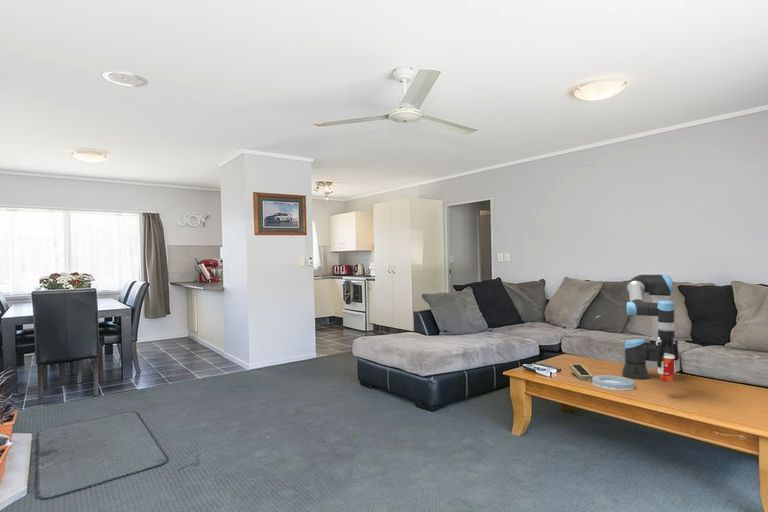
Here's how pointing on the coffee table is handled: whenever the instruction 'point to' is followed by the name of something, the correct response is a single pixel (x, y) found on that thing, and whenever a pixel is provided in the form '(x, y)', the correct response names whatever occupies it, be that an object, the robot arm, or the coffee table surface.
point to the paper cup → (668, 368)
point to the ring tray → (613, 382)
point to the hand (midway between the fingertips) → (666, 372)
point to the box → (581, 372)
